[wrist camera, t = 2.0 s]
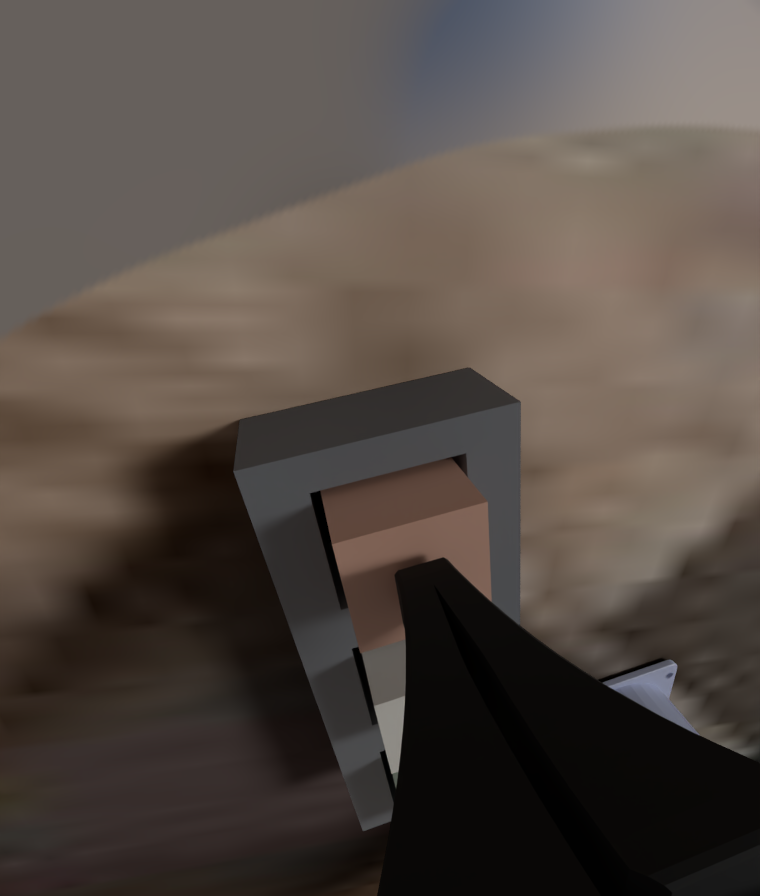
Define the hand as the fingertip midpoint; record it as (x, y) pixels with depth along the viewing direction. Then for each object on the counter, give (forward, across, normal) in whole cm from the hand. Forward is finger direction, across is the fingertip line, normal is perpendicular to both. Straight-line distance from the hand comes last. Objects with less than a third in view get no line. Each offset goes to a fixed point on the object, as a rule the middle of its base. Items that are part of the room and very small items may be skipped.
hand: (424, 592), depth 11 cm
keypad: (+6, 0, +6) cm, 9 cm away
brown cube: (+4, 0, 0) cm, 4 cm away
